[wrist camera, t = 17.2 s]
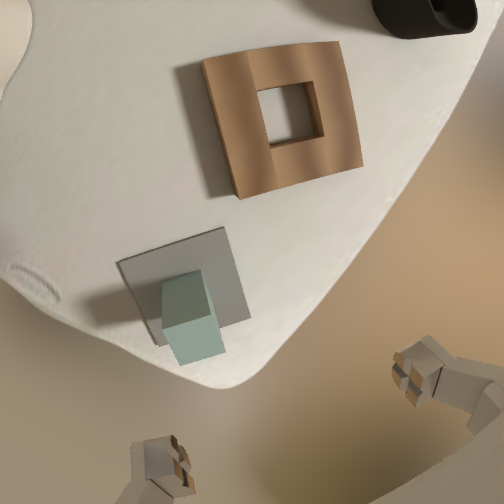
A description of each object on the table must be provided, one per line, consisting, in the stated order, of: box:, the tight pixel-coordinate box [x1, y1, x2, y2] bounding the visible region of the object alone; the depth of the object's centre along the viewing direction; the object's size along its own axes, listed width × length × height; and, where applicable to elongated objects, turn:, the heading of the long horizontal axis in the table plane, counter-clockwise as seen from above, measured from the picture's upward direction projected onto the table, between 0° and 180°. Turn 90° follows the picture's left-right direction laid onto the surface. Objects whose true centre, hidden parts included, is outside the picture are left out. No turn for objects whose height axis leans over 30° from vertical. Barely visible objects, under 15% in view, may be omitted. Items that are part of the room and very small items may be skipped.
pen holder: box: [372, 0, 478, 39], centre depth 24 cm, size 9×9×10 cm
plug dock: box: [201, 41, 363, 200], centre depth 30 cm, size 14×14×2 cm
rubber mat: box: [119, 227, 251, 347], centre depth 36 cm, size 12×12×1 cm
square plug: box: [162, 270, 226, 366], centre depth 31 cm, size 4×4×9 cm
